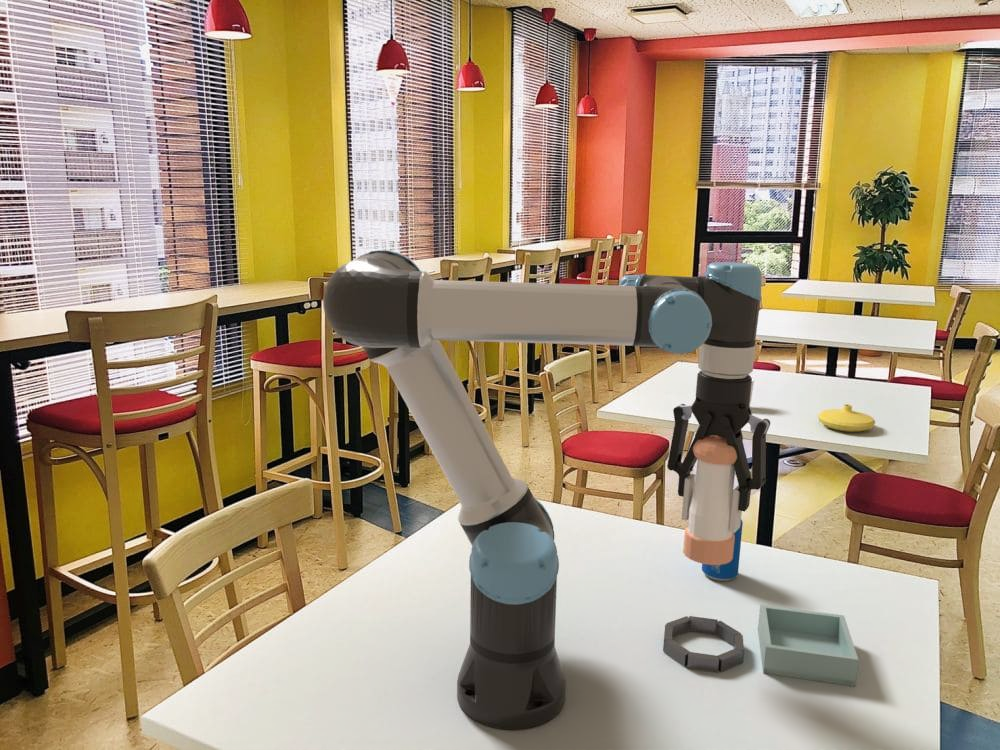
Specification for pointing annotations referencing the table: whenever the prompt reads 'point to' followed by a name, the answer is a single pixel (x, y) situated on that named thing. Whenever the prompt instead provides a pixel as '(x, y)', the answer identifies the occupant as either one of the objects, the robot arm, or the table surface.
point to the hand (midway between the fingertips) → (710, 523)
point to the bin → (806, 645)
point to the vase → (846, 419)
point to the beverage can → (728, 569)
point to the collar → (698, 659)
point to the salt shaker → (711, 503)
